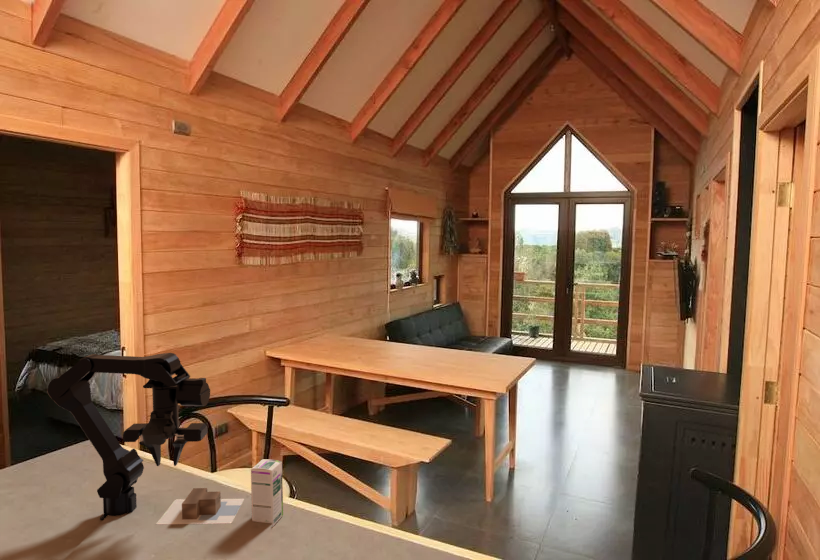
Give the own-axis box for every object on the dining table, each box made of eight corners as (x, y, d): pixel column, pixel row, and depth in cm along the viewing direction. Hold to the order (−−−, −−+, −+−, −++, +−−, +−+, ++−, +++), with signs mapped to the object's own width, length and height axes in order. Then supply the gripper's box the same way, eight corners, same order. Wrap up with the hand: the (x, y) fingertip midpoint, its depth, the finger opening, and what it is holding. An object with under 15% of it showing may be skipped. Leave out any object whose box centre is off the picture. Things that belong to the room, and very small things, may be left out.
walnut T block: (182, 519, 128) (181, 503, 128) (193, 503, 136) (193, 488, 136) (213, 518, 129) (212, 503, 128) (223, 502, 137) (222, 487, 136)
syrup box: (273, 527, 127) (272, 470, 126) (250, 524, 128) (250, 467, 127) (283, 515, 133) (283, 460, 131) (262, 512, 134) (261, 458, 133)
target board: (155, 528, 126) (155, 524, 126) (175, 503, 138) (175, 499, 138) (231, 527, 127) (231, 523, 127) (244, 502, 139) (244, 498, 139)
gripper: (110, 416, 121) (112, 480, 122) (192, 415, 122) (193, 479, 124) (132, 401, 132) (134, 460, 134) (207, 400, 133) (208, 459, 135)
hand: (167, 465), depth 131 cm, fingers open, 4 cm apart
